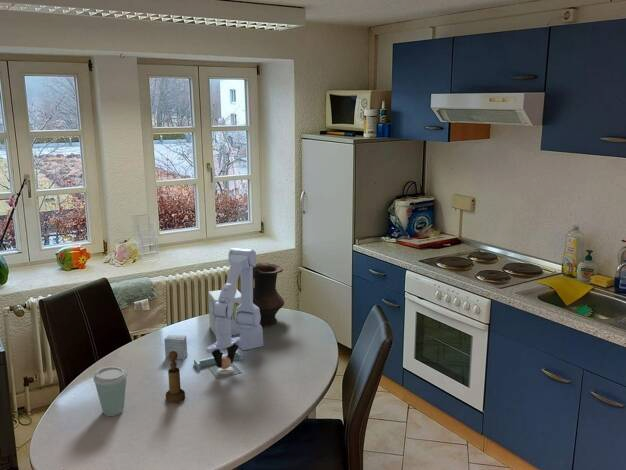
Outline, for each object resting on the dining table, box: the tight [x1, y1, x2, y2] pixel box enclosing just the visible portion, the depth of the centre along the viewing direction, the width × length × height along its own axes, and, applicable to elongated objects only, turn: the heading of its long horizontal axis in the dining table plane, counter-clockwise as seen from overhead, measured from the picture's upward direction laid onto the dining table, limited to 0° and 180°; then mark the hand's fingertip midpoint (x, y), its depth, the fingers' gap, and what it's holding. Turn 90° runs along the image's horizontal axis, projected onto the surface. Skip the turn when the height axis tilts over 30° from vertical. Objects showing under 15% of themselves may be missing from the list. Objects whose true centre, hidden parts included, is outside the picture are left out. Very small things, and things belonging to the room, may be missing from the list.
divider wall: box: [193, 350, 242, 371], centre depth 232 cm, size 18×5×2 cm, turn 119°
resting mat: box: [208, 362, 243, 380], centre depth 225 cm, size 10×10×1 cm
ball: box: [221, 356, 231, 369], centre depth 224 cm, size 5×5×5 cm
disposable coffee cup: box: [93, 365, 128, 417], centre depth 194 cm, size 11×11×15 cm
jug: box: [253, 262, 285, 327], centre depth 269 cm, size 21×18×30 cm
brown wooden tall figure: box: [165, 351, 186, 405], centre depth 202 cm, size 7×6×18 cm
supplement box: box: [208, 289, 241, 337], centre depth 262 cm, size 13×13×18 cm
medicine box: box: [163, 334, 188, 360], centre depth 236 cm, size 8×4×9 cm, turn 84°
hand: (224, 364), depth 225 cm, fingers closed on ball, 5 cm apart
